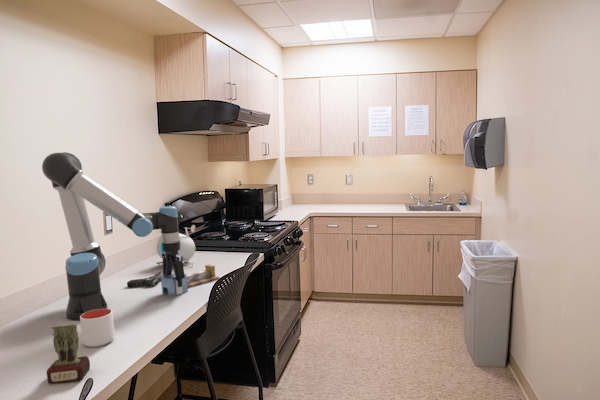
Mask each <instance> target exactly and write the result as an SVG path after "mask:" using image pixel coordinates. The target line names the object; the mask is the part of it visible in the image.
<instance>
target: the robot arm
mask: <svg viewBox="0 0 600 400" xmlns="http://www.w3.org/2000/svg"><path fill="white" fill-rule="evenodd" d="M41 165H42V166H41V170H42V173H43V175H44V176H45V177H46V178H47V179H48V180H49V181H51V185H52V188H53V189H54V190H55V191H57V192H58V195H59V198H60V199H59V200H60V202H61V208H62V210H63V215H64V218H65V221H66V225H67V229H68V230H67V231H68V234H69V237H70V241H71V245H72V248H71V249H70V251H69V252H70V254H69V255H70V256H69V257H68V258H67V259H66V260H65V266H64V267H65V272H66V278H67V279H66V282H67V289H68V301H67V306H66V310H65V316H66V318H67V319H68V320H69V321H70V320H71V321H80V316H81V315H82V314H83V313H85V312H88V311H91V310H96V309H109V308H108V303H107V301H106V299H105V297H104V295H103V293H102V288H101V277H100V276H101V275H102V273H103V272H104V270H105V268H106V257H105V255H104V254H103V253H102V250H101V246H100V243H98V242H96V241H95V239H94V234H93V231H92V230H93V229H92V226H91V221H90V219H89V218H90V217H89V215H88V209H87V205H86V203H85V201H87V202H89V203H90V204H92V205H93V206H95V207H96V208H98V209H99V210H101V211H102V212H104V213H106V214H107V215H108V216H110V217H112V219H114V220H116V221H118V223H121V224H122V225H123V226H124V227H127V228H128V229H129V230H131V231H132V232H133V234H134V235H135V236H136V237H139V238H144V237H147V236H149V235H150V234H151V233H152V231H154V230H156V231H157V230H159V229H160V230H161V232H160V234H161V236H160V237H162V242H163V243H162V248H163V251H164V252H165V253H162V258H163V259H162V258H161V259H162V261H163V263H162V271H163V275H169V274H173V273H172V272H173V271H174V273H175V276H176V279H175V283H176V294H177V295H176V296H178V295H181V294H184V293H183V290H182V279H183V278H185V275H184V274H185V270H184V263H183V257H182V256H179V254H178V250H180V242H179V241H178V240H179V233H180V230H179V227H180V226H179V215H178V209H177V207H176V206H175V205H174V206H172V205H169V206H161V207H159V210H158V211H156V212H143V213H141V212H139V211H138V210H137V209H135V208H134V207H133V206H131V205H129V204H128V203H126V202H125V201H123V200H122V199H120V197H117V196H116V195H114V194H113V193H112V192H111V191H109V190H107V189H106V188H104V187H103V186H101V185H100V184H99V183H97V182H95V181H94V180H93V179H91V178H89V177H88V176H87V175H85V174H84V172H83V171H84V170H83V165H82V163H81V161H80V159H79V158H78V157H77V156H76V155H75V154H73V153H69V152H54V153H50V154H48V155H47V156H46V157H45V158H44V160H43V161H42V164H41ZM165 271H166V272H165Z"/></svg>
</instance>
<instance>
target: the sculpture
mask: <svg viewBox="0 0 600 400" xmlns="http://www.w3.org/2000/svg"><path fill="white" fill-rule="evenodd" d="M51 330H53V333H52V335H53V340H52V341H53V347H54V351H55V353H56V354H57V356H58V359H57V360H55V361H54V362H53V363H52V364H51V365H50V366H49V367H48V368H47V369H46V378H47V383H48V384H53V383H55V384H56V383H65V382H77V381H82V380H83V379H84V378H85V376H86V374H87V373H88V372H89V371H90V367H91V366H90V364H91V361H90V358H89V356H79V357H78V349H79V342H80V340H79V333H78V329H77V324H66V325H65V324H64V325H63V324H62V325H55V326H52V327H51Z"/></svg>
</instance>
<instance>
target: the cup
mask: <svg viewBox="0 0 600 400" xmlns="http://www.w3.org/2000/svg"><path fill="white" fill-rule="evenodd" d="M79 322H80V329H81V330H80V331H81V332H80V333H81V339H82V344H83V345H84V346H85V347H88V348H97V347H103V346H105V345H108V344H110V343H112V342H113V341H114V339H115V336H116V335H115V325H114V316H113V310H112V309H111V308H110V309H109V308H108V309H96V310H91V311H88V312H85V313H83V314H82V315H81V316H80V320H79Z"/></svg>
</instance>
